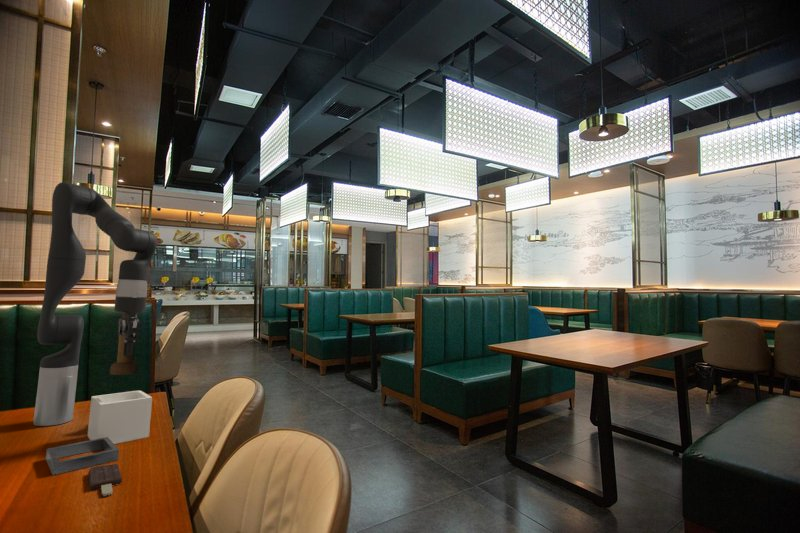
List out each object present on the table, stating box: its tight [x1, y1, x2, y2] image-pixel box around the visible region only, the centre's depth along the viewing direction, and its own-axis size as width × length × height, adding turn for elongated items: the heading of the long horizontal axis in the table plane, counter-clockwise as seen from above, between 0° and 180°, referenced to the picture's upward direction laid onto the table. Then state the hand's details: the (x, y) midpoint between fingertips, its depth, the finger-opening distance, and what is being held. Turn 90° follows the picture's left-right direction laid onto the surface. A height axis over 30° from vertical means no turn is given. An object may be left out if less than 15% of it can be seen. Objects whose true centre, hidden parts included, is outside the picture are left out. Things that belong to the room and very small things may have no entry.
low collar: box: [45, 437, 120, 476], centre depth 94 cm, size 12×12×2 cm
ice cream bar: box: [88, 463, 123, 497], centre depth 83 cm, size 5×2×15 cm
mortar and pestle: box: [109, 313, 139, 376], centre depth 112 cm, size 7×6×18 cm
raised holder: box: [87, 390, 153, 445], centre depth 110 cm, size 12×12×11 cm
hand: (125, 354), depth 112 cm, fingers closed on mortar and pestle, 4 cm apart
